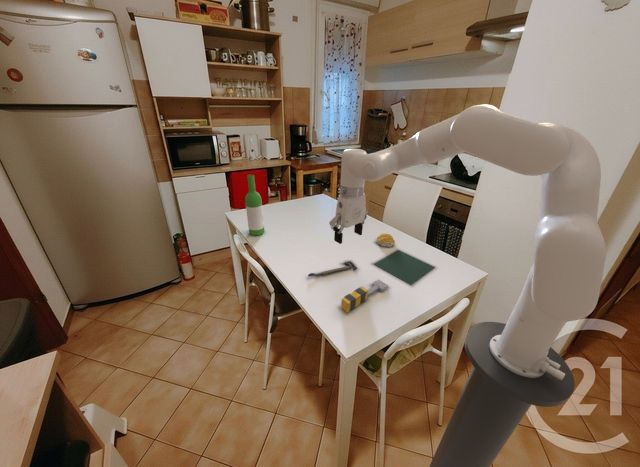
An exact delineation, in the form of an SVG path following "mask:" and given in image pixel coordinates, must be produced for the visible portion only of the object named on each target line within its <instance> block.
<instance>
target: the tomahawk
mask: <svg viewBox="0 0 640 467" xmlns="http://www.w3.org/2000/svg"><path fill="white" fill-rule="evenodd" d="M342 264H343V265H346V266H343V267H337V268H333V269H329V270H325V271H321V272H318V273H314V272H310V273H309V274H307V276H308V277H320V276H326V275H330V274H335V273H339V272H343V271H346V270H350V269H353V270H354V271H355V270H358V266H356V265H355V264H354V263H353V262H352V261H351V260H348V261H345V262H344V263H342Z"/></svg>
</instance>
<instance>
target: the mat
mask: <svg viewBox="0 0 640 467" xmlns="http://www.w3.org/2000/svg"><path fill="white" fill-rule="evenodd" d="M373 265H374V266H376V267H378V268H380V269H382V270H383V271H385V272H387V273H389V274H391V275H392V276H394V277H396V278H397V279H400V280H401V281H402V282H403V281H404V282H405V283H406V284H409V285H410V286H411V285H413V284H415V283H416V282H417V281H418V280H420V279H421V278H422V277H424V276H425V275H426V274H428V273H429V272H431V271H432V270H433V269H435V266H433V265H431V264H430V263H427V262H425V261H423V260H421V259H418V258H416V257H414V256H412V255H410V254H408V253H406V252H404V251H402V250H399V249H397V250H396V251H394V252H392V253H390V254H388V255H386V256H385V257H383V258H381V259H380V260H378V261H376V262H375V263H373Z"/></svg>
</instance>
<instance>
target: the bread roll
mask: <svg viewBox="0 0 640 467" xmlns="http://www.w3.org/2000/svg"><path fill="white" fill-rule="evenodd" d="M376 242H377V244H378V245H380V246H382V247H386V248H387V247H388V248H391V247H393V245H395V243H396V241H395V239H394V238H393V236H392V235H391V234H390V233H381V234H379V235H378V236H377V237H376Z"/></svg>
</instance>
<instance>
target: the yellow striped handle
mask: <svg viewBox="0 0 640 467" xmlns="http://www.w3.org/2000/svg"><path fill="white" fill-rule="evenodd" d="M371 286H372V287H370V288H369V289H367V288H366V287H363V286H360V287H357V288H355V289H354V290H353V291H352V292H350V293H348V294H346V295H345V296H344V297H342V298H341V303H340V309H342V310H343V311H344V312H346V313H347V314H348V313H350V312H351V311H353V310H354V309H356V308H357V307H358V306H360V305H361V304H363V303H365V301H367V300H368V298H369V297H370V296H371V295H373V294H375V293H376V292H378V291H380V292H381V293H382V292H383V291H384V290H386V289H387V288H388V287H389V285H388V284H387V283H385V282H383V281H382V280H380V279H377V280H375V281H374V282H372V284H371Z"/></svg>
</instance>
